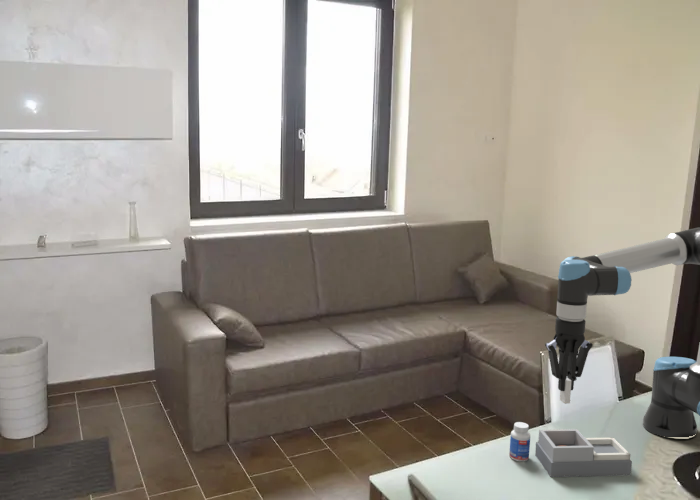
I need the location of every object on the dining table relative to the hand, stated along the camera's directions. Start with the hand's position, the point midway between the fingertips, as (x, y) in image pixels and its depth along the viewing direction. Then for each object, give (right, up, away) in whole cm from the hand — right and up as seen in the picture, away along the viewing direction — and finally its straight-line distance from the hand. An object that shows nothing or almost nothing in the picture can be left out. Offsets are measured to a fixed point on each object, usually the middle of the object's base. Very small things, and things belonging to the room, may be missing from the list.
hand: (564, 401), depth 173 cm
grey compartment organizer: (+6, -18, +3) cm, 19 cm away
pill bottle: (-11, -18, +7) cm, 22 cm away
